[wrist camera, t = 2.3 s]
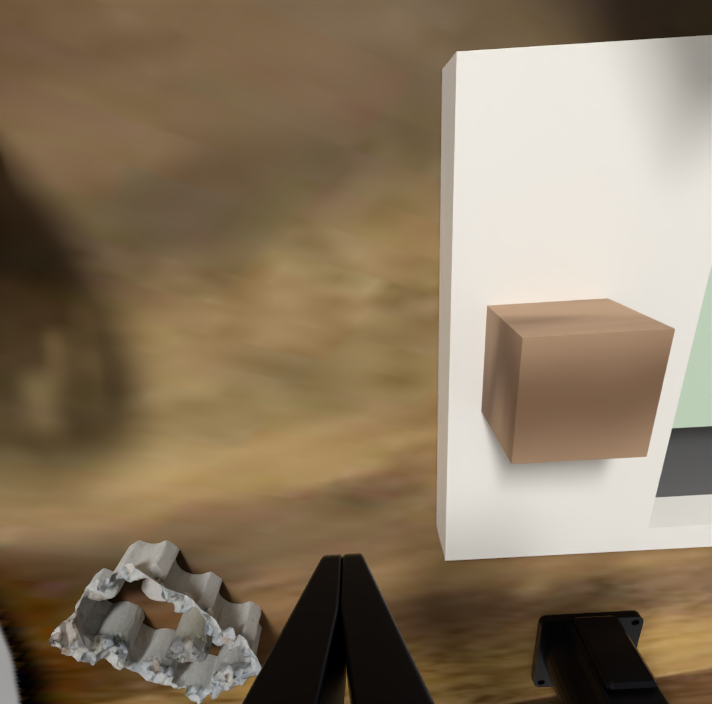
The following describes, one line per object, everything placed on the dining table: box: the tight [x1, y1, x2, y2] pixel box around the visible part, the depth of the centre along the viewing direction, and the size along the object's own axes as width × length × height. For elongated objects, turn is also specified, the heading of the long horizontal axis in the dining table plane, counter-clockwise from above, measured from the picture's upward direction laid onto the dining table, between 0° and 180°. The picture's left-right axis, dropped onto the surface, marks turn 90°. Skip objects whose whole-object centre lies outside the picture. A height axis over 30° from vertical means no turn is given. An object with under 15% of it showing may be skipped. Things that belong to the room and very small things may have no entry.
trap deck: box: [436, 35, 712, 561], centre depth 20 cm, size 23×18×2 cm
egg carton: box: [49, 541, 262, 704], centre depth 26 cm, size 11×8×4 cm
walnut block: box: [481, 298, 675, 464], centre depth 17 cm, size 5×5×4 cm
